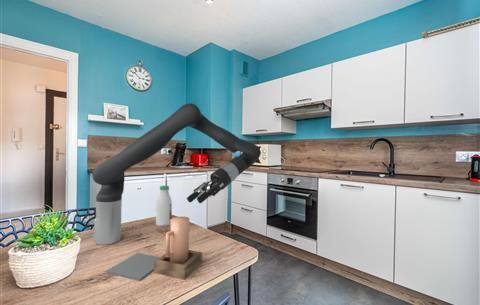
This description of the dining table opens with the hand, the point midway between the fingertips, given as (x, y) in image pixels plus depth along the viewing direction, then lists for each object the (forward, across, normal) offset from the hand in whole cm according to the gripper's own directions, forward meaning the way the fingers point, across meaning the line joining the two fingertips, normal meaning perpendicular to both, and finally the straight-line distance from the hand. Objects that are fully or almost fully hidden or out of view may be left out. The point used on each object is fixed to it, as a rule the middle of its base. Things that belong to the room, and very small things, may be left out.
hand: (193, 200), depth 76 cm
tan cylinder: (+16, -2, +15) cm, 22 cm away
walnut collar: (+15, -2, +16) cm, 22 cm away
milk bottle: (+4, -47, +14) cm, 49 cm away
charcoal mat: (+24, -10, +9) cm, 27 cm away
